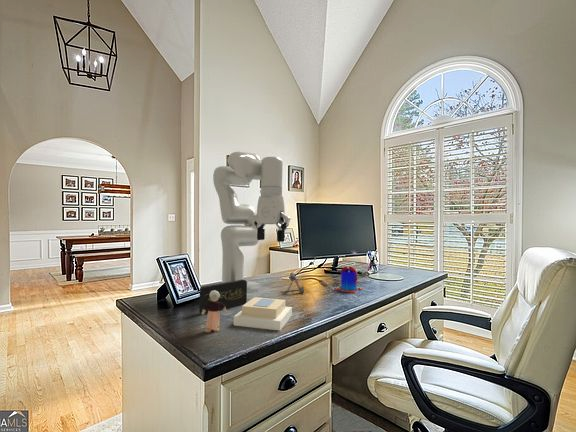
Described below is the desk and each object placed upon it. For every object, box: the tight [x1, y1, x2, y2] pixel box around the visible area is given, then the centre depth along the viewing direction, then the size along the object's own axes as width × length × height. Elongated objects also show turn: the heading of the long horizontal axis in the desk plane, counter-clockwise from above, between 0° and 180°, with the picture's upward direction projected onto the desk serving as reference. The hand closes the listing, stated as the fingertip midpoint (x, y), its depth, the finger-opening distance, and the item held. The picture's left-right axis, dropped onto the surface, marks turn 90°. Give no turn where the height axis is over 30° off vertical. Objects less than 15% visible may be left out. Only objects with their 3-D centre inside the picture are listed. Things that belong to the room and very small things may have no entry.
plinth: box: [233, 296, 293, 331], centre depth 110 cm, size 16×16×6 cm
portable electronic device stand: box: [286, 272, 305, 295], centre depth 152 cm, size 9×8×8 cm
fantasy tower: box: [333, 265, 364, 294], centre depth 158 cm, size 12×12×12 cm
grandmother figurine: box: [201, 290, 228, 333], centre depth 99 cm, size 8×4×13 cm, turn 117°
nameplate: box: [198, 279, 248, 315], centre depth 122 cm, size 21×2×10 cm, turn 138°
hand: (270, 240), depth 111 cm, fingers open, 9 cm apart
